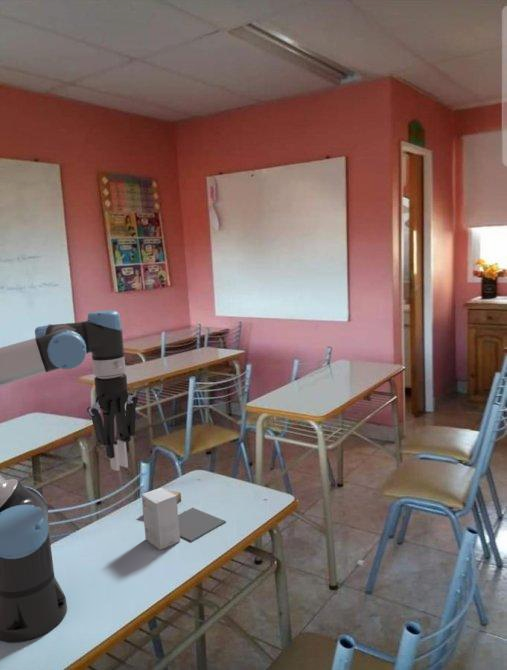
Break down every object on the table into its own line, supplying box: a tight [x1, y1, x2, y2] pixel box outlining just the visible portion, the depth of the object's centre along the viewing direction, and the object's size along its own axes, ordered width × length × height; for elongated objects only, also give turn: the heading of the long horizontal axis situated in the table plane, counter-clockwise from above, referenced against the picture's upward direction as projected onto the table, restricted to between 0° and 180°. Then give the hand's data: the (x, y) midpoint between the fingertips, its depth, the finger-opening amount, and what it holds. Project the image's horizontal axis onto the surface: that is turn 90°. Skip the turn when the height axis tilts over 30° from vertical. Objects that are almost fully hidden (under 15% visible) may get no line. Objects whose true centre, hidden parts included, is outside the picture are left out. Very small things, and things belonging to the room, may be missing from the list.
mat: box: [178, 507, 227, 543], centre depth 156 cm, size 13×14×1 cm
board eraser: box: [141, 489, 182, 517], centre depth 167 cm, size 12×5×3 cm, turn 151°
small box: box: [141, 487, 181, 551], centre depth 147 cm, size 8×6×13 cm
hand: (119, 467), depth 136 cm, fingers open, 2 cm apart
